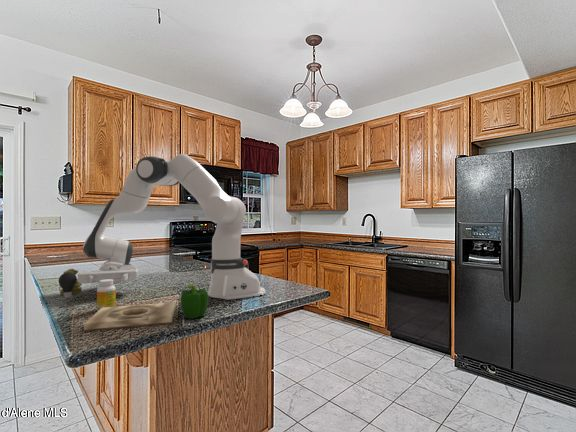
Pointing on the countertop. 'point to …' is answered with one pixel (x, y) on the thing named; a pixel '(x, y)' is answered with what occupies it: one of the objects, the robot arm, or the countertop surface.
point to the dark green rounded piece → (76, 288)
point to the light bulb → (67, 283)
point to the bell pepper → (194, 302)
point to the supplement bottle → (106, 294)
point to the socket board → (131, 316)
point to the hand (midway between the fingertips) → (108, 279)
